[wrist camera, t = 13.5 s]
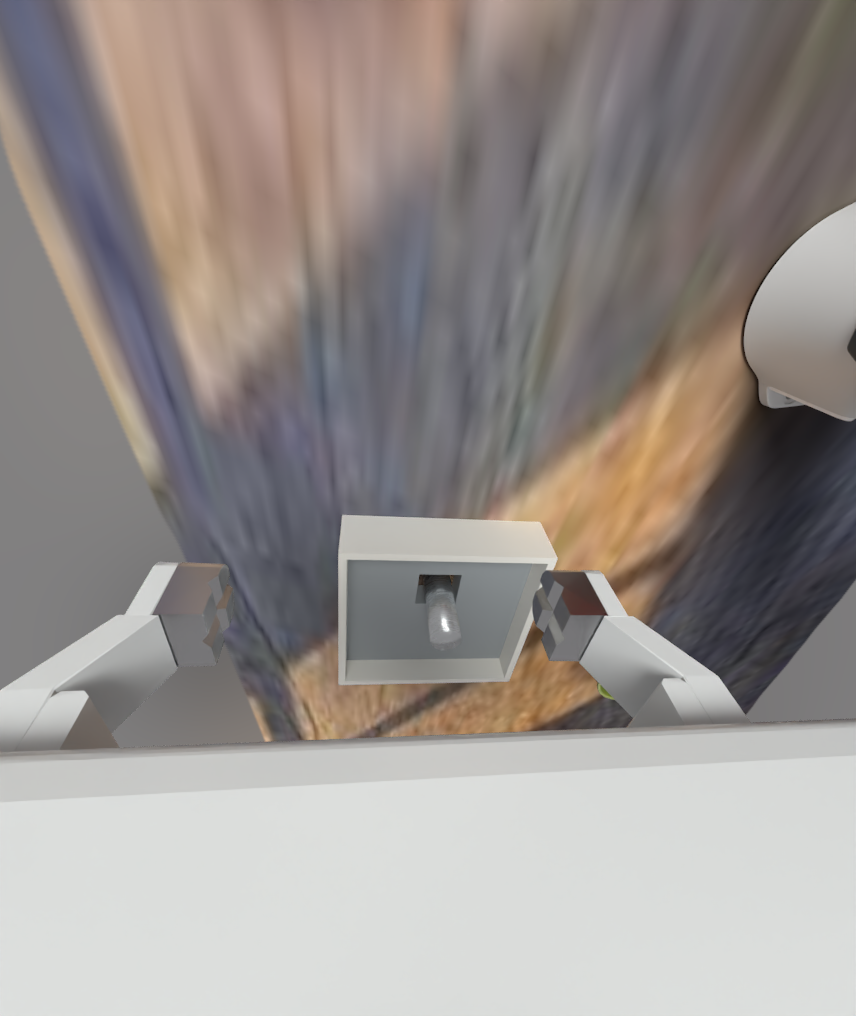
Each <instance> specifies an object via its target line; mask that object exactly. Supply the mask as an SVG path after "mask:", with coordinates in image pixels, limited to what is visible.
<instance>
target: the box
mask: <svg viewBox="0 0 856 1016" xmlns="http://www.w3.org/2000/svg"><path fill="white" fill-rule="evenodd" d="M557 559H558V558H557V556H556V554H555V552H554V549H553V547H552V545H551V543H550V541H549V539H548V537H547V535H546V533H545V531H544V529H543V527H542V525H541V523H540V522H528V521H500V520H472V519H444V518H416V517H388V516H360V515H342V522H341V532H340V541H339V551H338V654H339V685H371V684H418V683H465V682H509V680H510V677H511V675H512V672H513V670H514V667H515V665H516V662H517V660H518V657H519V655H520V652H521V650H522V647H523V645H524V642H525V640H526V637H527V635H528V632H529V630H530V627H531V624H532V622H533V619H534V618H533V612H532V604H533V598H534V595H535V592H536V591H537V590H539V589H540V588H541V587H542V584H541V582H540V579H541V576H542V574H543V573H544V572H545V571H546V570H553V569H554V567H555V564H556V561H557ZM419 574H426V575H454V577H453V582H452V590H453V595H454V601H455V606H456V611H457V616H458V621H459V627H460V632H461V637H462V641H461V643H460V644H459V645H458V646H457V647H455V648H453V649H450V650H438V649H435V648H434V647H432V645H431V642H430V634H429V625H428V617H427V609H426V601H425V592H424V585H418V581H419Z"/></svg>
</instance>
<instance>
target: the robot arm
mask: <svg viewBox="0 0 856 1016" xmlns="http://www.w3.org/2000/svg"><path fill="white" fill-rule="evenodd" d="M744 350H745V355H746V358H747V361H748V363H749V365H750V367H751V368H752V370H753V371H754V373H755V374H756V376H757V378H758V380H759V399H760V402H761V404H763V405H765V406H767V407H770V408H783V407H792V406H800V405H807V406H810V407H812V408H814V409H817V410H819V411H822V412H824V413H826V414H829V415H831V416H833V417H836V418H838V419H841V420H845V421H852V420H854V419H856V202H855V203H853V204H851V205H849V206H847V207H845V208H843V209H841V210H839V211H837V212H835V213H834V214H832V215H830V216H828V217H827V218H825V219H824V220H822V221H821V222H819V223H818V224H817V225H815V226H814V227H813V228H811V229H810V230H809V231H807V232H806V233H805V234H804V235H803V236H802V237H800V238H799V239H798V240H797V241H796V242H795V243H794V244H793V245H792V246H791V247H790V248H789V249H788V250H787V251H786V252H785V254H784V255H783V256H782V257H781V258H780V259H779V261H778V262H777V263H776V264H775V266H774V267H773V268H772V270H771V271H770V273H769V274H768V276H767V277H766V279H765V280H764V282H763V283H762V285H761V287H760V289H759V291H758V292H757V294H756V296H755V299H754V301H753V303H752V306H751V308H750V311H749V314H748V317H747V321H746V325H745V332H744ZM229 577H230V573H229V569H228V566H227V565H225V564H206V563H172V562H159V563H157V564H156V565H154V566H153V568H152V569H151V571H150V573H149V575H148V576H147V578H146V580H145V581H144V583H143V585H142V586H141V588H140V590H139V592H138V593H137V595H136V597H135V598H134V600H133V602H132V603H131V605H130V607H129V608H128V610H127V612H126V613H125V615H117V616H115V617H114V618H112V619H111V620H109V621H107V622H106V623H104V624H103V625H101V626H100V627H98V628H97V629H95V630H94V631H92V632H90V633H89V634H87V635H86V636H84V637H83V638H81V639H79V640H78V641H76V642H75V643H73V644H72V645H70V646H68V647H67V648H65V649H64V650H62V651H61V652H59V653H58V654H56V655H54V656H53V657H51V658H50V659H48V660H47V661H45V662H44V663H42V664H40V665H39V666H37V667H36V668H34V669H33V670H31V671H30V672H28V673H26V674H25V675H23V676H22V677H20V678H19V679H17V680H15V681H14V682H12V683H11V684H9V685H8V686H6V687H5V688H3V689H2V690H0V1016H856V719H833V720H812V721H811V720H808V721H783V722H759V723H751V722H750V721H749V719H748V718H747V717H746V715H745V714H744V712H743V711H742V709H741V708H740V707H739V705H738V704H737V702H736V701H735V699H734V698H733V697H732V695H731V694H730V692H729V691H728V690H727V688H726V687H725V685H724V684H723V682H722V681H721V680H720V678H719V677H718V676H717V675H716V674H714V673H713V672H711V671H710V670H709V669H707V668H706V667H704V666H703V665H702V664H700V663H699V662H697V661H696V660H694V659H693V658H692V657H690V656H689V655H687V654H686V653H685V652H683V651H682V650H680V649H679V648H677V647H676V646H675V645H673V644H672V643H670V642H669V641H668V640H666V639H665V638H663V637H662V636H660V635H659V634H658V633H656V632H655V631H653V630H652V629H651V628H649V627H648V626H646V625H645V624H643V623H642V622H641V621H639V620H638V619H636V618H635V617H634V616H628V615H627V613H626V612H625V610H624V608H623V607H622V605H621V603H620V602H619V600H618V598H617V597H616V595H615V593H614V592H613V590H612V588H611V587H610V585H609V583H608V582H607V580H606V578H605V577H604V575H603V574H602V573H601V572H600V571H591V570H581V571H577V570H546V571H545V572H544V573H543V574H542V576H541V579H540V582H541V584H542V587H541V588H540V589H539V590H537V591H536V592H535V595H534V598H533V604H532V612H533V618H534V621H535V624H536V626H537V627H538V628H539V629H541V630H542V631H543V632H544V634H543V637H542V639H541V640H542V643H543V645H544V648H545V651H546V653H547V656H548V659H549V661H580V662H579V663H580V664H581V665H582V666H583V667H584V668H585V669H586V670H587V671H588V672H589V673H590V674H591V675H592V676H593V677H594V679H595V680H596V681H597V682H598V683H599V684H600V685H601V686H602V687H603V688H604V689H605V690H606V691H607V692H608V693H609V694H610V695H611V696H612V697H613V698H614V699H615V700H616V701H617V702H618V703H619V704H620V705H621V706H622V707H623V708H624V709H625V710H626V711H627V713H628V714H629V715H630V716H631V717H632V718H633V720H632V721H631V722H630V724H629V725H628V726H627V728H605V729H579V730H554V731H529V732H504V733H479V734H454V735H429V736H403V737H378V738H353V739H328V740H302V741H277V742H252V743H226V744H202V745H201V744H200V745H175V746H151V747H150V746H149V747H124V748H119V746H118V744H117V743H116V741H115V739H114V738H113V736H112V734H111V733H112V732H113V731H114V730H116V729H117V728H118V726H119V725H121V724H122V723H123V722H124V721H125V720H126V719H127V718H128V717H129V716H130V715H131V714H132V713H133V712H134V711H135V710H136V709H137V708H138V707H139V706H140V705H141V704H142V703H143V702H144V701H145V700H146V699H147V698H148V697H149V696H150V695H151V694H152V693H153V692H155V691H156V690H157V689H158V688H159V687H160V686H161V685H162V684H163V683H164V682H165V681H166V680H167V679H168V678H169V677H170V676H171V675H172V674H173V673H174V672H175V671H176V670H177V667H187V666H213V665H216V664H217V662H218V659H219V656H220V653H221V650H222V647H223V644H224V638H223V634H222V632H223V631H224V630H225V629H227V628H228V627H229V626H230V623H231V620H232V616H233V610H234V593H233V588H231V587H230V586H229V585H228V584H227V583H228V580H229Z"/></svg>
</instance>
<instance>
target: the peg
mask: <svg viewBox="0 0 856 1016" xmlns="http://www.w3.org/2000/svg"><path fill="white" fill-rule="evenodd" d="M422 576H423V584H424V592H425V601H426V609H427V617H428V625H429V634H430V642H431V645H432V647H434V648H435V649H438V650H450V649H453V648H455V647H457V646H458V645H459V644H460V643H461V641H462V637H461V632H460V627H459V621H458V616H457V611H456V606H455V601H454V595H453V590H452V585H451V580H450V575H426V574H422Z"/></svg>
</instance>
